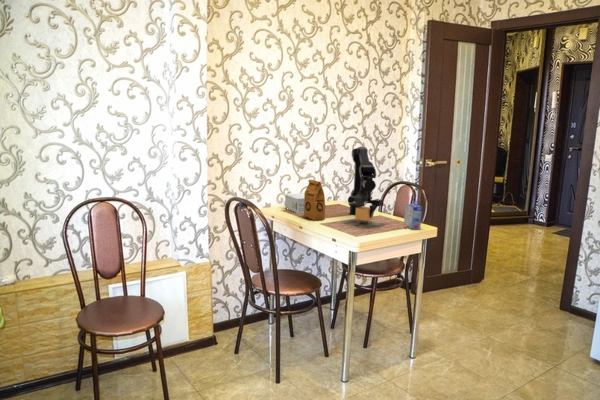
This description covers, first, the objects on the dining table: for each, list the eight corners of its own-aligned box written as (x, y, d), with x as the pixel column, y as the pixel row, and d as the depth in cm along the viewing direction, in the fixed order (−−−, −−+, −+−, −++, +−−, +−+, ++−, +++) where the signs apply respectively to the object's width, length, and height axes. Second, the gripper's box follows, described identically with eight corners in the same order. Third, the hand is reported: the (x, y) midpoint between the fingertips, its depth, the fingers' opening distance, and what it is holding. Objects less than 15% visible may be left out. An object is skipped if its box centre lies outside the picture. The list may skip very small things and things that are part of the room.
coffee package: (312, 221, 247) (313, 182, 244) (301, 217, 258) (302, 179, 254) (327, 220, 252) (329, 181, 248) (316, 215, 263) (317, 178, 259)
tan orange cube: (355, 218, 239) (355, 207, 238) (361, 217, 245) (362, 206, 244) (366, 220, 235) (367, 209, 234) (373, 218, 240) (373, 208, 239)
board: (340, 225, 240) (340, 223, 240) (355, 220, 253) (355, 218, 252) (373, 231, 228) (373, 229, 228) (387, 226, 241) (387, 224, 241)
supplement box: (284, 208, 283) (284, 194, 281) (302, 207, 289) (303, 193, 287) (297, 213, 268) (297, 198, 267) (315, 212, 274) (316, 197, 273)
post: (358, 223, 240) (359, 214, 239) (362, 222, 243) (363, 213, 242) (365, 224, 237) (366, 215, 237) (369, 223, 241) (369, 214, 240)
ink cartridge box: (421, 229, 235) (423, 202, 233) (411, 229, 234) (413, 202, 232) (412, 225, 245) (414, 199, 243) (403, 225, 244) (405, 199, 241)
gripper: (342, 187, 236) (341, 216, 239) (374, 191, 225) (372, 221, 228) (353, 185, 245) (352, 213, 248) (384, 189, 234) (382, 218, 236)
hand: (364, 216), depth 240 cm, fingers closed on tan orange cube, 7 cm apart
